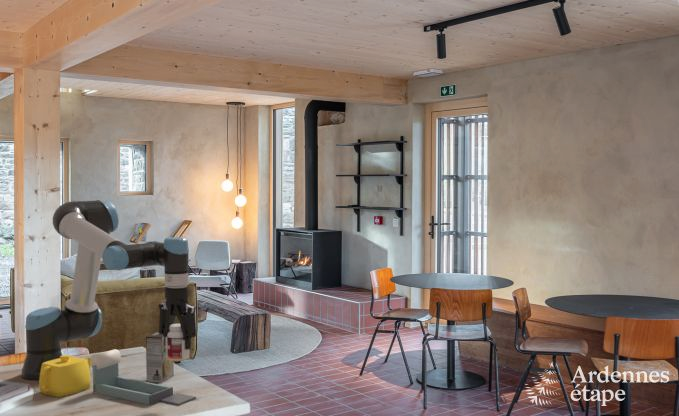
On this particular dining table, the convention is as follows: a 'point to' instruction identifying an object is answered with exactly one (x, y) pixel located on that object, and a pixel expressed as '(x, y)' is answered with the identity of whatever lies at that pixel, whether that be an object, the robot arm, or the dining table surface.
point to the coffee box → (157, 359)
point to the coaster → (177, 399)
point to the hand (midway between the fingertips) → (177, 357)
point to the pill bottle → (175, 342)
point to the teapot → (65, 376)
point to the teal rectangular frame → (123, 381)
